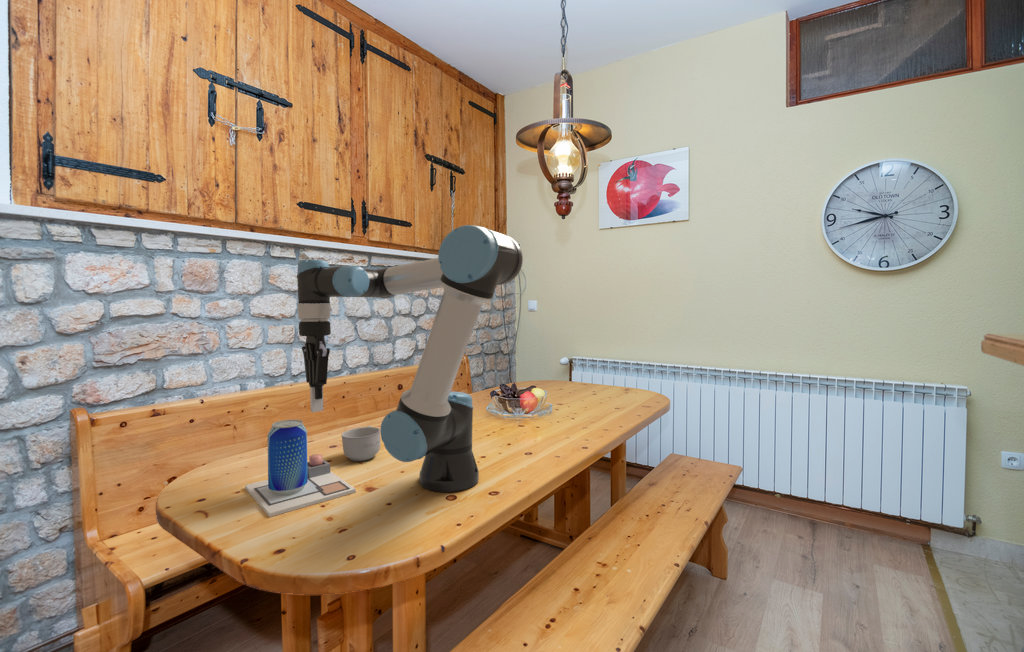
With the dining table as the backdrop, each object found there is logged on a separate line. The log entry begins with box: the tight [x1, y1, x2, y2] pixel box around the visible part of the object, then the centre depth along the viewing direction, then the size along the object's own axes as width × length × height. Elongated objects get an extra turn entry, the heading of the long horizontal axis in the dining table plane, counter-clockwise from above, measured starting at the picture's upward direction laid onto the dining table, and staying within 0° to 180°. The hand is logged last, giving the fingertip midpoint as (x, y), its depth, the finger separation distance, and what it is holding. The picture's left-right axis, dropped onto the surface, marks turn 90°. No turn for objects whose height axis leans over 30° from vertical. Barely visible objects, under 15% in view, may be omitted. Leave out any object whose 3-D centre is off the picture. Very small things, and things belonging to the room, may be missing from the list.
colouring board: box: [244, 458, 357, 518], centre depth 109 cm, size 20×19×3 cm
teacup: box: [340, 425, 381, 462], centre depth 134 cm, size 14×11×8 cm
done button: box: [308, 453, 324, 467], centre depth 119 cm, size 3×3×3 cm
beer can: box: [267, 419, 308, 495], centre depth 107 cm, size 8×8×16 cm
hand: (317, 410), depth 118 cm, fingers closed
